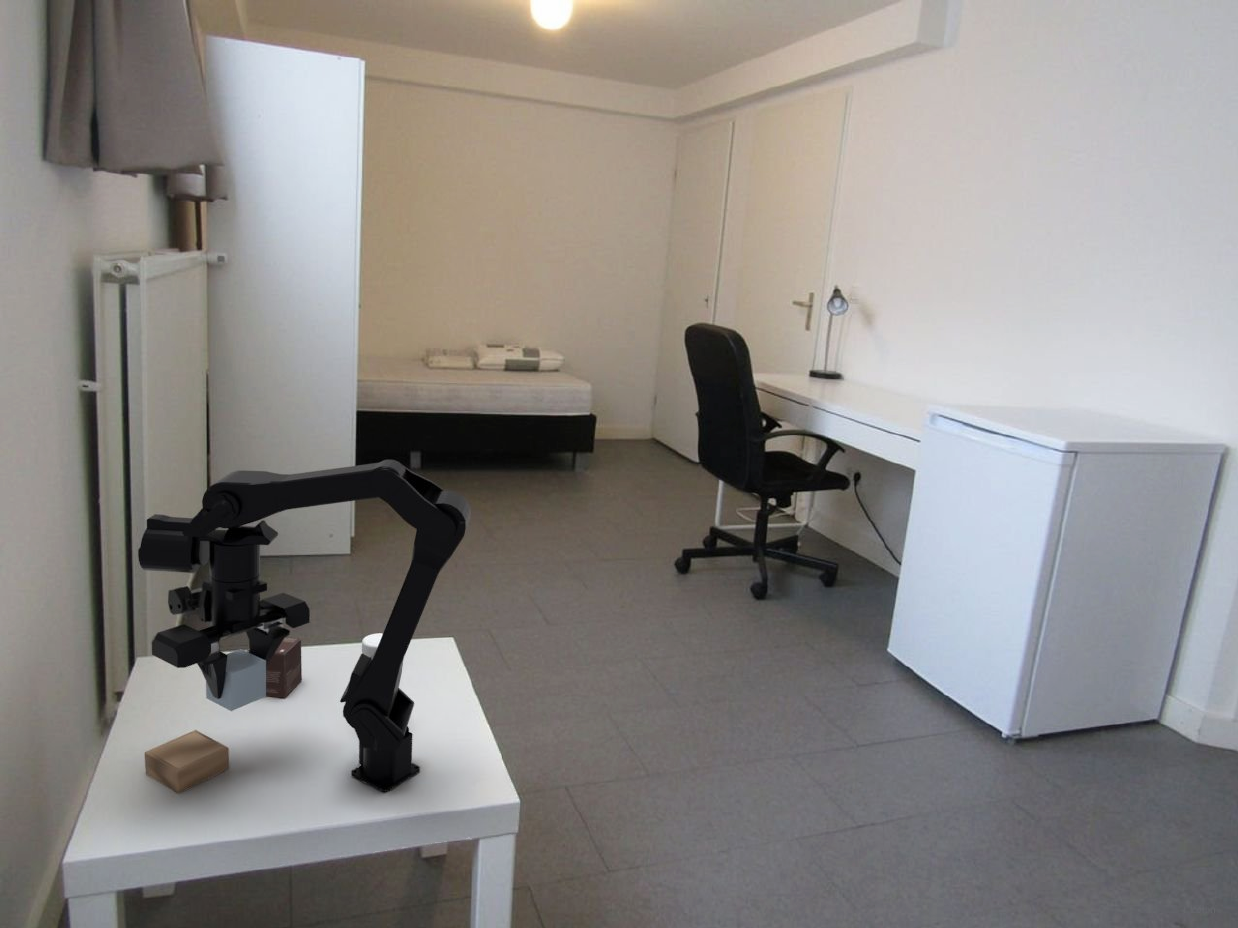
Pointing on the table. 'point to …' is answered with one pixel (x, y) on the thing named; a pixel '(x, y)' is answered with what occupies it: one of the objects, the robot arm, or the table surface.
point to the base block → (186, 761)
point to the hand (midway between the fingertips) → (236, 689)
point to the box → (284, 668)
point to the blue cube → (241, 681)
